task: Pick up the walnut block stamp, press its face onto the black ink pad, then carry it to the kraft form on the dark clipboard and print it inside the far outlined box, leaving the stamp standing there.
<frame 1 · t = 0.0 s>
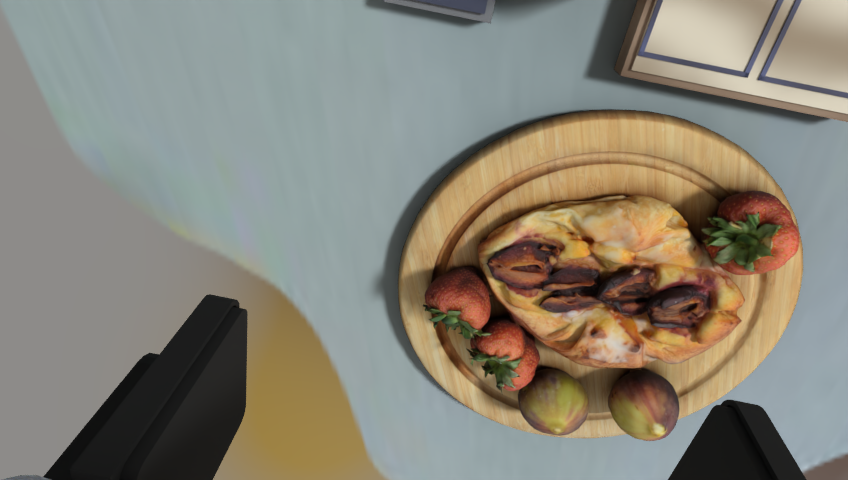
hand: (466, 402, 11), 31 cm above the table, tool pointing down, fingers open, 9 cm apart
wooden plate with food: (585, 288, 46), on the table
form board: (763, 15, 35), on the table
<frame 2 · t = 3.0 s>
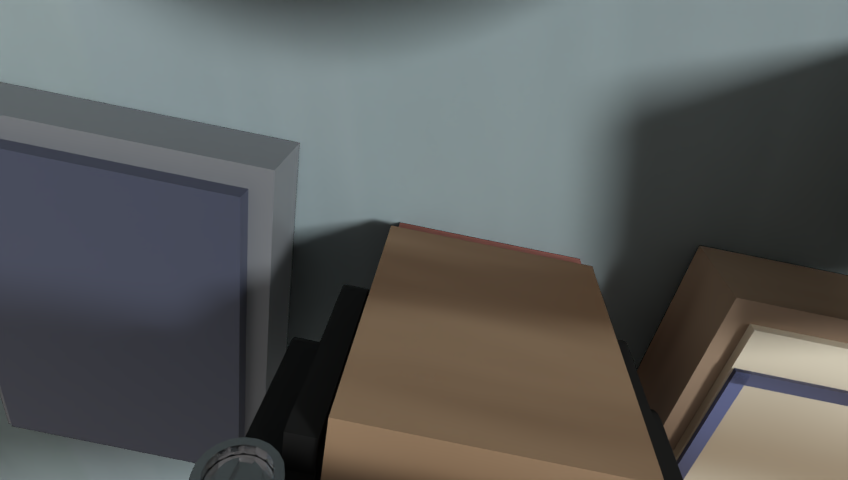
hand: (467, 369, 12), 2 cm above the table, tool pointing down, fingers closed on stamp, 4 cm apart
ink pad: (154, 281, 14), on the table
stamp: (470, 313, 13), on the table, touching gripper
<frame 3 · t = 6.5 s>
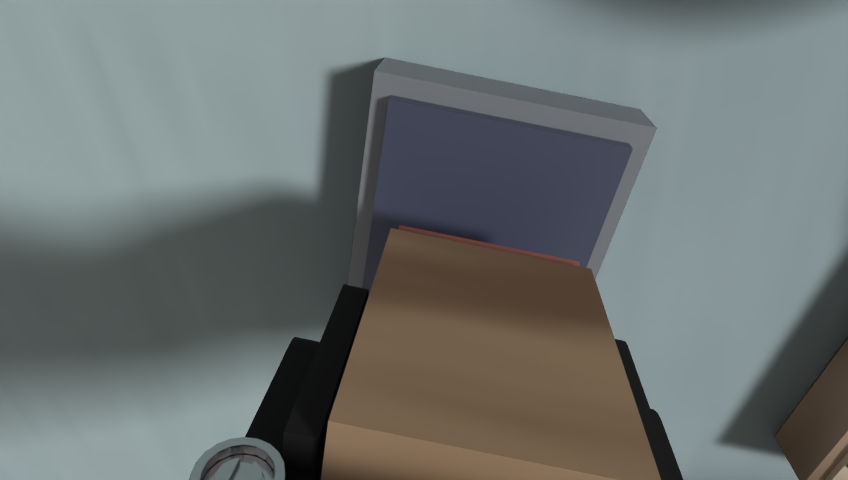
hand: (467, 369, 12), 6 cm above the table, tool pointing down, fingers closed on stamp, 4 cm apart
ink pad: (475, 227, 17), on the table
stamp: (469, 315, 13), point 4 cm above the table, touching gripper
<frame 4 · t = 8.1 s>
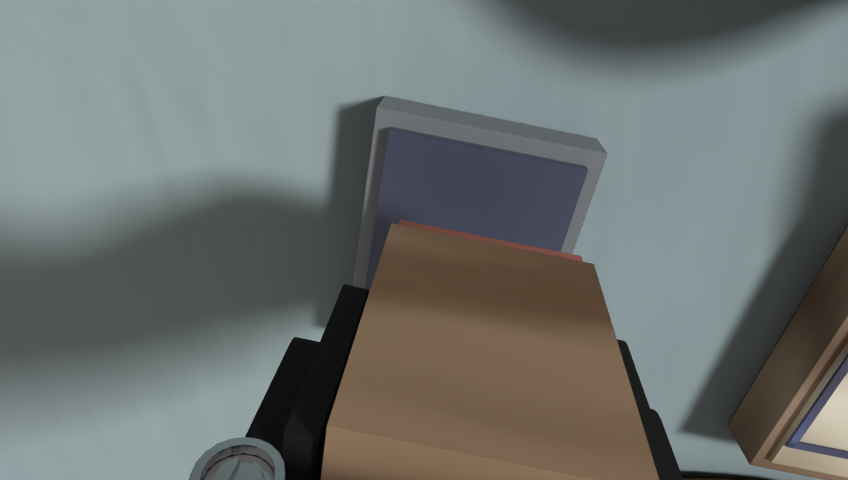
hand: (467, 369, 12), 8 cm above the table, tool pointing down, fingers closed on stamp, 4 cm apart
ink pad: (461, 238, 20), on the table
stamp: (471, 309, 13), point 6 cm above the table, touching gripper
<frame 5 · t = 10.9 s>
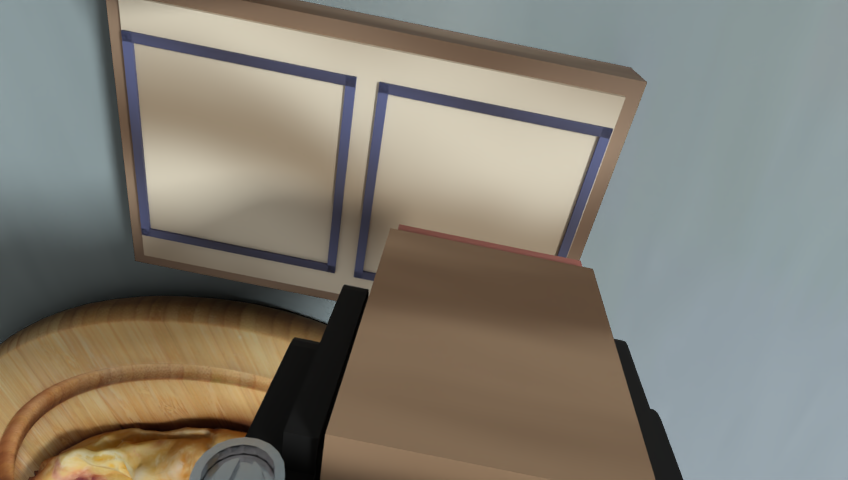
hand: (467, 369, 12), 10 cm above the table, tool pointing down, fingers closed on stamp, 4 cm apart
form board: (367, 161, 20), on the table
stamp: (470, 313, 13), point 8 cm above the table, touching gripper
when the fingers open (4 cm above the table, at t = 13.2 s): stamp stays where it is, resting on form board.
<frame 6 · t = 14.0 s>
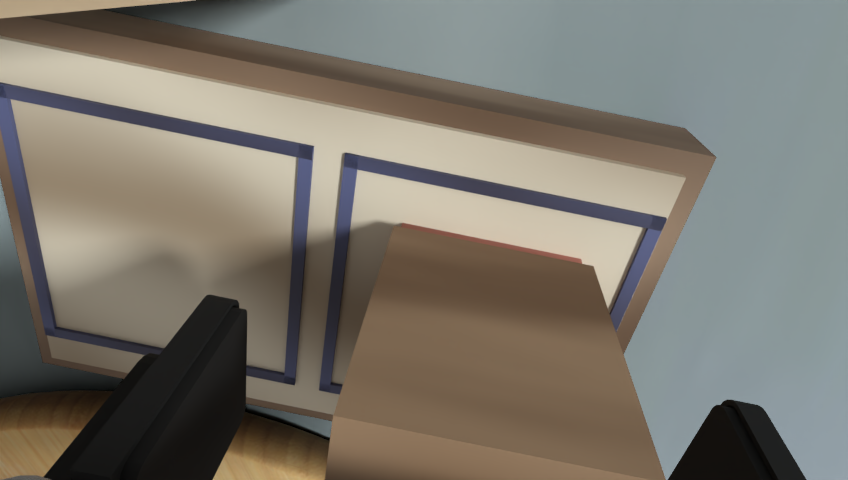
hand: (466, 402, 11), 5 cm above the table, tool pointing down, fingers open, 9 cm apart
form board: (338, 240, 15), on the table
stamp: (471, 312, 13), point 2 cm above the table, touching form board
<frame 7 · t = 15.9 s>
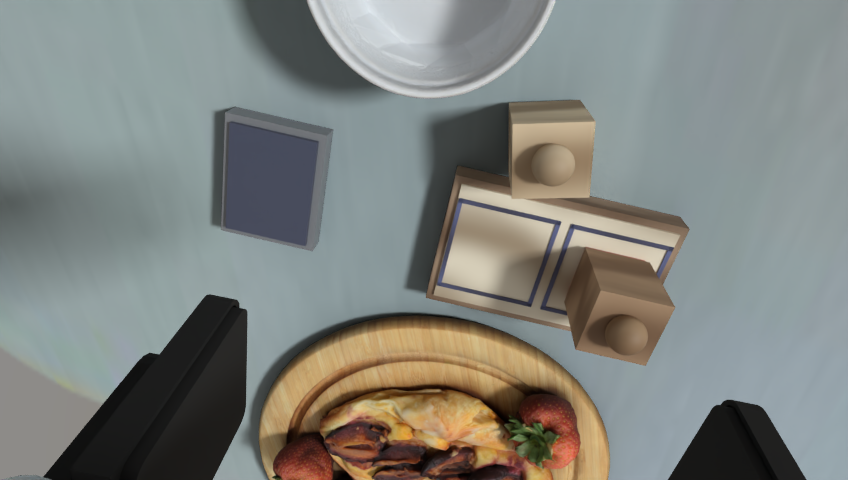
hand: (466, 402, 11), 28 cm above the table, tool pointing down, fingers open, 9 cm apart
ink pad: (278, 177, 40), on the table
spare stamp: (542, 133, 36), on the table
wooden plate with food: (431, 447, 51), on the table
form board: (547, 252, 40), on the table
stamp: (604, 278, 38), point 2 cm above the table, touching form board
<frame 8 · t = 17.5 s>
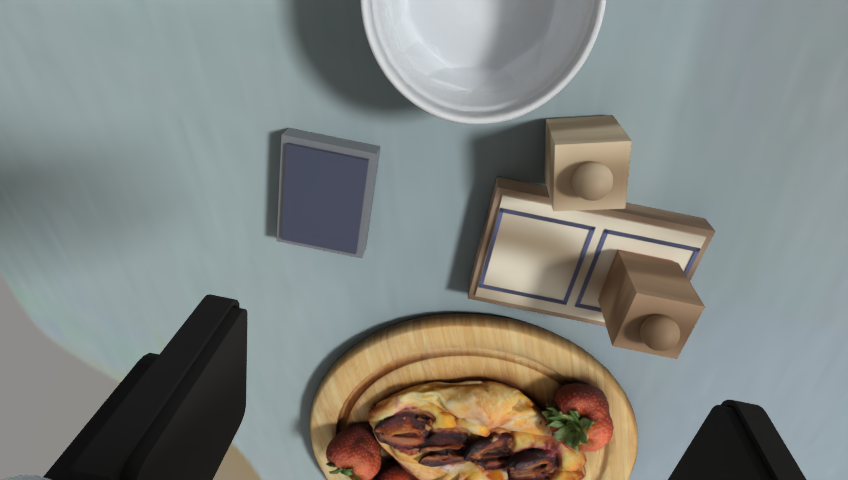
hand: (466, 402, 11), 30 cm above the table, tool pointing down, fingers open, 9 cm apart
ink pad: (329, 191, 43), on the table
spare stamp: (576, 145, 39), on the table
wooden plate with food: (469, 432, 55), on the table
form board: (580, 253, 43), on the table
stamp: (635, 278, 41), point 2 cm above the table, touching form board
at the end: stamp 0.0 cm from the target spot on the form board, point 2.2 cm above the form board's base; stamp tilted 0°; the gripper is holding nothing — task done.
